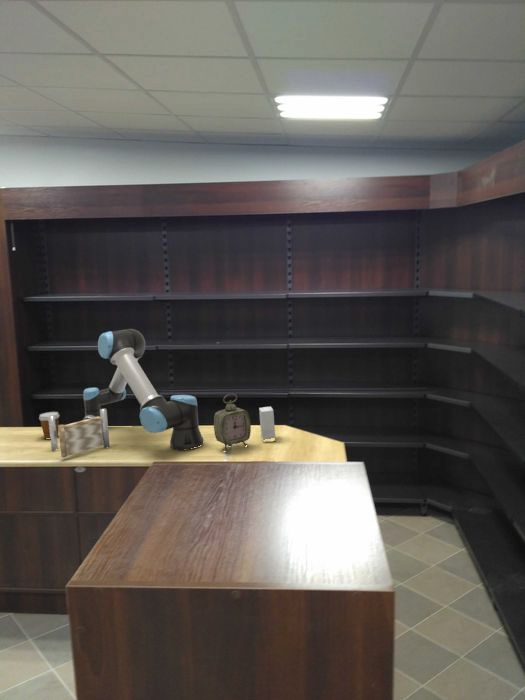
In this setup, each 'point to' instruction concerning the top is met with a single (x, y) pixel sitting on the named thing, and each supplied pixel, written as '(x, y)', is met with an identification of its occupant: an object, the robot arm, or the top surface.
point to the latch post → (53, 432)
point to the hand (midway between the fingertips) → (74, 440)
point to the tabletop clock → (232, 424)
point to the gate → (80, 436)
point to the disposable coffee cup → (45, 422)
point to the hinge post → (104, 427)
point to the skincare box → (267, 423)
